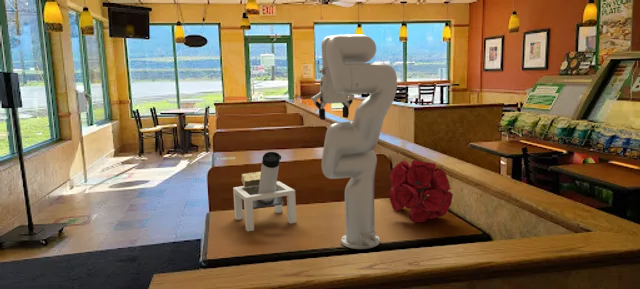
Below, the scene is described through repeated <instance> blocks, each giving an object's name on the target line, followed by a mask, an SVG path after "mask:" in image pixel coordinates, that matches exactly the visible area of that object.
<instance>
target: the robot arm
mask: <svg viewBox="0 0 640 289" xmlns="http://www.w3.org/2000/svg"><path fill="white" fill-rule="evenodd" d="M376 53H377V45H376V43H375V41H374V40H373V39H372V37H370V36H368V35H365V34H358V33H357V34H355V33H354V34H350V33H349V34H334V35H327V36H325V37H324V38H323V39H322V41H321V59H322V60H321V62H322V63H321V64H322V68H321V69H319V71H318V72H319V74H322V76H321V78H320V82H319V92H318V93H317V94H315V95H313V96H312V97H311V100H312V102H313V103H314V105H315V106H316V108H317V109H318V116H319V119H320V120H326V109H325V107H326V105H327V104H341V105H342V118H344V119H346V118H347V119H348V118H349V115H350V113H349V112H350V111H349V110H350V108H349V107H351V104H352V103H353V101H354V99H355V95H361V94H363V95H364V94H366V95H367V94H369V95H368V96H367V97H366V98H364V99H363V100H362V102H361V103H360V104H358V106H357V108H356V109H355V112H354V117H353V120H351V121H339V122H334V123H332V124H330V125H329V126H328V127H327V129H326V132H325V136H324V137H325V138H324V144H323V151H322V155H321V171H322V174H323V175H324V177H326V178H327V179H329V180H333V179H334V180H337V179H347V178H349V180H348V182H347V184H346V186H345V188H344V213H345V214H344V215H345V216H344V217H345V218H344V219H345V225H344V226H345V234H344V235H343V236H341V239H340V242H341V244H342V245H343V246H344V247H346V248H350V249H353V250H354V249H355V250H367V249H372V248H375V247H377V246H379V245H380V242H381V239H380V237H379V236H378V234H377V235H376V231H375V230H376V227H375V226H376V224H375V223H376V222H375V221H376V220H375V217H376V216H375V178H376V171H377V166H378V165H377V163H378V156H377V154H376V152H375V151H374V149H376V146H377V145H378V142H379V140H380V135H381V133H382V132H381V131H382V128H383V125H384V120H385V118H386V115H387V113H388V111H389V109H390V108H391V106H392V103H394V99H395V96H396V92H397V88H398V86H397V85H398V78H397V73H396V70H395V68H394V67H392V65H389V64H386V63H382V62H380V63H379V62H370V61H371V60H373V58H374V57H375V55H376ZM318 99H319V101H318Z"/></svg>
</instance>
